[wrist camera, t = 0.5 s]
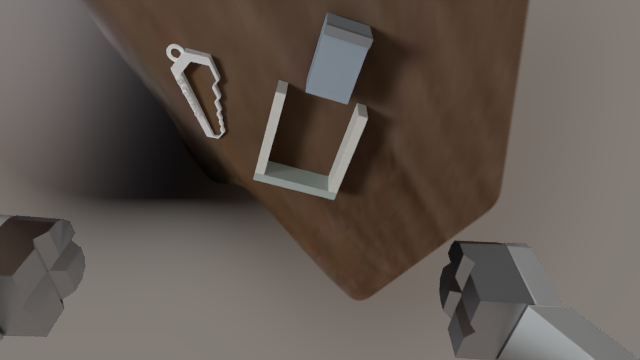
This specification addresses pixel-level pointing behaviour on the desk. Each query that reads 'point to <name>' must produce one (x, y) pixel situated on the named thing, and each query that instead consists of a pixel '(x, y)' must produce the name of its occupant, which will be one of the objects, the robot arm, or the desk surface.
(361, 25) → the grey-blue box
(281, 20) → the desk surface
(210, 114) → the desk surface
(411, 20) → the desk surface
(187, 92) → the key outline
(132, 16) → the desk surface
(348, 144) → the bay
